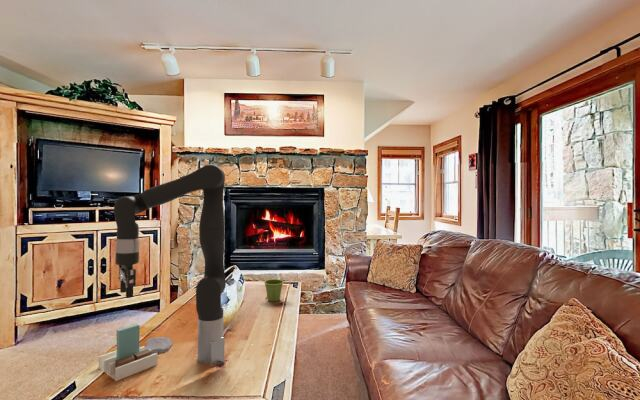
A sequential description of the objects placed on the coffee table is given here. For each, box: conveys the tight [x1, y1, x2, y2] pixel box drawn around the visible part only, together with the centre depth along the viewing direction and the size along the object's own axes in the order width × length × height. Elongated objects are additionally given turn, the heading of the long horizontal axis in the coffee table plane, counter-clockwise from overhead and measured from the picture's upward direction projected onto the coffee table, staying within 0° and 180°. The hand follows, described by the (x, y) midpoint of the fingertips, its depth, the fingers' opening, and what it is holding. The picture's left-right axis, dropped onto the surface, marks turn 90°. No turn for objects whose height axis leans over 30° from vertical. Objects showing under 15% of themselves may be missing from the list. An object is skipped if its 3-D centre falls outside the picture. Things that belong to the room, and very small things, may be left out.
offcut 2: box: [134, 349, 152, 361], centre depth 123 cm, size 3×5×5 cm, turn 143°
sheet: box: [116, 323, 140, 360], centre depth 124 cm, size 2×7×14 cm, turn 143°
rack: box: [98, 342, 158, 382], centre depth 124 cm, size 14×14×6 cm
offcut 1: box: [115, 355, 135, 368], centre depth 119 cm, size 3×5×5 cm, turn 143°
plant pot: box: [263, 278, 285, 303], centre depth 207 cm, size 12×12×11 cm
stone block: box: [145, 336, 173, 354], centre depth 139 cm, size 12×5×10 cm
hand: (126, 294), depth 125 cm, fingers open, 8 cm apart
